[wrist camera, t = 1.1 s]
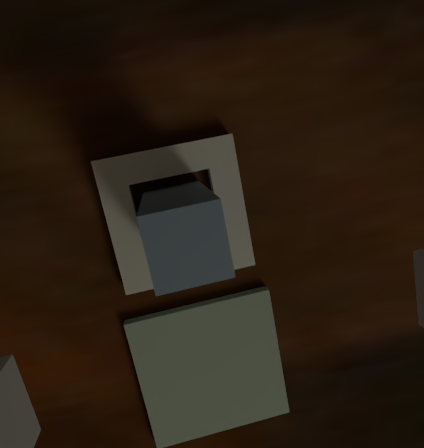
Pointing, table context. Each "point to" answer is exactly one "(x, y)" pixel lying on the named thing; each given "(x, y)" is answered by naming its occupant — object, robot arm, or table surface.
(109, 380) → the table surface
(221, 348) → the pad
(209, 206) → the slate block
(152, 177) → the pocket collar
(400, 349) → the table surface
